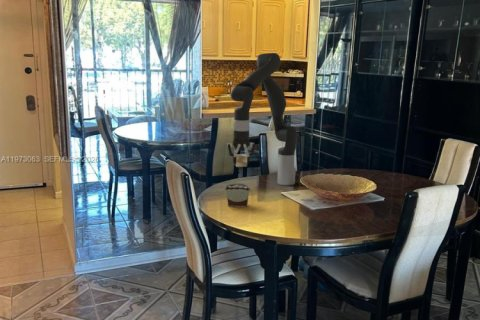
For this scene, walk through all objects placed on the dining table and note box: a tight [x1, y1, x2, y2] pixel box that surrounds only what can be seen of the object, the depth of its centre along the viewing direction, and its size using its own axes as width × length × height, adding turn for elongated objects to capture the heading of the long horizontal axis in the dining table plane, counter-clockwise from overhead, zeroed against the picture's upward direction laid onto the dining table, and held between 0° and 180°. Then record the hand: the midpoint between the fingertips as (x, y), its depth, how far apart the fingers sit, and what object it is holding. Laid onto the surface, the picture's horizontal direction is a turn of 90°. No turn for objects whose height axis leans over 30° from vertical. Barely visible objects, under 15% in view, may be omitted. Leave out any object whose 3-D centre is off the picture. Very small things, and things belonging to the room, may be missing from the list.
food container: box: [224, 182, 251, 208], centre depth 217 cm, size 12×6×10 cm, turn 84°
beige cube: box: [235, 153, 248, 168], centre depth 213 cm, size 5×5×5 cm
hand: (240, 164), depth 213 cm, fingers closed on beige cube, 5 cm apart
